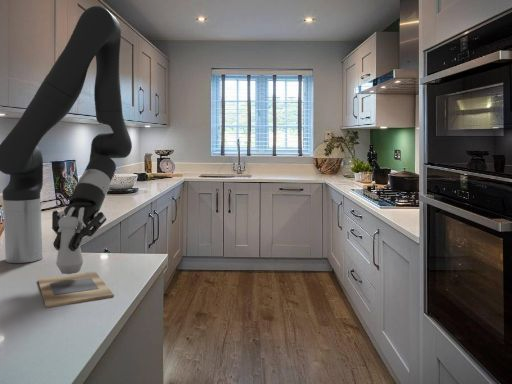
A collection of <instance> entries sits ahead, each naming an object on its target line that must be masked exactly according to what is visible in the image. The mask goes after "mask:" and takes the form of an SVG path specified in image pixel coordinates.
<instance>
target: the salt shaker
mask: <svg viewBox="0 0 512 384" xmlns="http://www.w3.org/2000/svg"><path fill="white" fill-rule="evenodd" d="M58 224H59V227H60V228H62V232H61V239H60V248H59V250H57V257H56V262H55V264H56V267H57V268H58V270H59V271H60V273H61V274H62V275H74V274H78V273H79V272H80V271H81V268H82V266H83V263H84V259H83V254H82V253H83V252H82V250H81V244H80V245H79V247H78V248H77V249H76V250H75V251H71V250H70V249H69V247H68V246H69V243H70V241H71V239H72V237H73V236H74V235H75V233H76V228H77V226H78V225H79V221H78V219H77V218H76V217H66V216H64V217H63V218H60V219H59V222H58Z"/></svg>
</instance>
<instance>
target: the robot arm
mask: <svg viewBox="0 0 512 384" xmlns="http://www.w3.org/2000/svg"><path fill="white" fill-rule="evenodd" d="M121 40H122V26H121V24H120V22H119V20H118V19H117V18H116V16H114V15H113V13H111V12H110V11H109V10H108V9H107V8H105V7H103V6H99V5H93V6H91V7H88V8H87V9H85V10H84V11H83V12H82V14H81V15H80V16H79V18H78V21H77V22H76V25H75V26H74V29H73V31H72V34H71V36H70V38H69V39H68V41H67V43H66V45H65V47H64V49H63V50H62V52H61V54H60V55H59V56H58V58H57V59H56V60H55V62H54V64H53V66H52V67H51V69H50V70H49V71H48V73H47V75H46V76H45V78H44V79H43V81H42V82H41V84H40V86H39V87H38V89H37V91H36V93H35V95H34V96H33V97H32V100H31V101H30V102H29V104H28V105H27V107H26V109H25V111H24V112H23V114H22V116H21V117H20V119H19V120H18V121H17V122H16V124H15V125H14V127H13V128H12V129H11V131H10V132H9V133H8V134H7V135H6V137H5V138H4V139H3V140H2V142H1V143H0V172H1V173H3V174H4V175H9V182H8V184H7V185H6V187H4V188H3V190H2V205H3V206H2V208H3V209H2V210H3V229H4V251H5V252H4V253H5V262H6V263H9V264H25V263H33V262H37V261H39V260H41V259H43V233H42V231H43V230H42V208H41V205H42V203H41V192H42V190H43V185H44V160H43V159H44V158H43V154H42V151H41V149H40V148H39V146H38V145H39V143H40V142H41V140H42V139H43V138H44V137H45V135H46V134H47V133H48V132H49V131H50V130H51V129H52V128H54V126H56V125H57V124H58V123H59V122H61V121H62V120H63V119H64V118H65V117H66V116H67V115H68V113H69V112H70V111H71V109H72V108H73V107H74V105H75V104H76V101H78V98H79V97H80V95H81V93H82V90H83V87H84V84H85V82H86V77H87V74H88V70H89V67H90V65H91V63H92V61H93V59H94V58H95V63H96V69H95V70H96V71H95V72H96V73H95V79H94V81H95V82H94V87H93V89H94V92H93V93H94V96H93V97H94V109H95V110H94V111H95V118H96V122H97V123H99V124H101V125H104V126H105V125H107V126H109V127H110V128H111V131H112V132H107V133H106V132H105V133H98V134H96V135H95V137H94V138H93V139H92V141H91V143H90V152H89V153H90V154H89V161H88V163H87V165H86V168H85V170H84V172H83V173H82V175H81V176H80V177H79V179H78V181H77V183H76V185H75V187H74V189H73V192H72V194H71V195H70V197H69V202H68V204H67V206H66V207H65V208H64V209H63V210H62V211H59V212H58V211H57V210H53V211H52V215H51V216H52V218H51V219H52V220H51V221H52V223H51V226H52V227H51V228H52V230H53V231H54V232H55V234H56V237H55V240H54V241H53V243H52V246H53V247H54V249H55V250H56V251H58V250H59V248H60V239H61V232H62V228H60V227H59V224H58V222H59V219H60V218H63V217H76V218H77V219H78V221H79V225H78V226H77V227H76V233H75V235H74V236H73V237H72V239H71V241H70V243H69V246H68V247H69V249H70V250H71V251H75V250H76V249H77V248H78V247H79V245H80V246H81V242H82V241H83V239H84V238H86V237H92V236H94V234H95V233H96V232H97V231H98V230H99V229H100V227H102V225H103V224H104V223H106V222H107V218H106V216H105V214H104V212H102V211H100V210H101V208H102V205H103V203H104V201H105V199H106V196H107V194H108V192H109V189H110V185H111V183H112V180H113V178H114V175H115V172H116V171H117V169H116V168H117V166H116V165H117V164H116V163H115V161H114V160H113V159H124V158H127V157H128V156H129V155H130V154H131V152H132V149H133V143H132V139H131V135H130V134H129V130H128V128H127V125H126V121H125V119H124V115H123V105H122V104H123V103H122V93H121V79H120V78H121V77H120V51H121Z"/></svg>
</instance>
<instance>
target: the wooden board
mask: <svg viewBox="0 0 512 384" xmlns="http://www.w3.org/2000/svg"><path fill="white" fill-rule="evenodd" d="M37 281H38V284H39V286H38V287H39V288H40V292H41V295H42V298H43V302H44V304H45V307H46V308H51V307H58V306H64V305H70V304H71V305H72V304H76V303H83V302H90V301H96V300H102V299H108V298H113V297H115V296H114V294H115V293H113V291H111V289H110V288H109V287H108V285H107V284H106V283H105V282H104V281H103V279H102V278H101V277H100V275H99V274H98V273H97V272H96V271H90V272H82V273H73V274H65V275H60V276H59V275H58V276H51V277H43V278H38V279H37Z"/></svg>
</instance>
